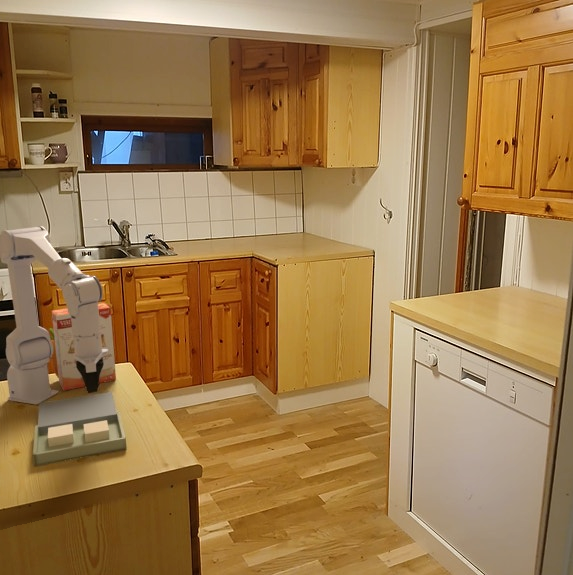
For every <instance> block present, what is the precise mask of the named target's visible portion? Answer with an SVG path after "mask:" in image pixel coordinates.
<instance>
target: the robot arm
mask: <svg viewBox="0 0 573 575" xmlns="http://www.w3.org/2000/svg"><path fill="white" fill-rule="evenodd" d="M50 238H51V237H50V233H49V232H48V230H47V229H46V228H45V227H44V226H42V225H38V226H33V227H23V228H16V229H8V230H7V229H3V230H2V231H0V261H1V263H3V264H6V265H7V270H8V278H9V284H10V285H9V286H10V291H11V298H12V305H13V312H14V319H15V320H14V321H15V326H16V327H15V328H14V329H13V331H12V332H10V333H9V334H8V335H7V336H6V338H5V339H6V340H5V341H6V342H5V343H6V345H5V347H6V348H5V356H6V360H7V362H8V363H9V365H10V366H9V367H8V369H7V373H6V379H7V385H8V387H7V388H8V393H9V397H7V399H6V400H7V401H12V402H17V403H24V404H31V405H39V403H42V402H45V401H46V400H47V399H50V398H52V396H55V395H56V394H58V393H59V390H55V389H52V388H51V385H50V375H49V369H48V368H49V367H48V363H51V362H50V358H51V357H52V354H53V344H52V341H53V340H52V339H51V338H50V336H51V335H50V331H49V330H47V329H46V328H44V327H42V326H39V321H38V320H39V319H38V312H37V304H36V299H35V291H34V290H35V289H34V284H33V276H32V269H31V266H32V263H33V262H34V261H35V259H36V260H38V262H40V263H41V264H43V266H44V267H46V269H48V271H47V273H48V274H47V275H48V277H49V278H50V280H52V282H53V283H54V284H55V285H56V286H57V287H58V288H59V289H60V290H61V291H62V297H63V299H64V303H65V305H66V308H67V310H68V313H69V314H70V315H71V322H72V331H73V341H74V350H75V353H74V358H75V359H76V360H77V361H76V367H77V369H78V371H79V372H80V374H81V375H82V377H83V380H84V383H85V386H84V387H85V389H86V390H85V391H87V394H92V393H93V394H94V393H98V391H99V385H100V383H99V377H100V373H101V370H102V368H103V365H104V363H103V358H102V356H103V355H105V354H108V349H102V341H101V331H100V320H99V309H98V304H99V303H101V301H102V299H103V295H104V294H103V287H102V284H101V282H100V280H99V279H98V277H97V276H95V275H89V274H85V273H83V271H81V269H80V268H79V267H78V266H77V265H76V264H75V263H74V262H73V261H72V260H70V259H69V258H66V257H63V258H62V257H61V256H60V255H59V253H58V252H57V251H56V249H55V248H54V247H53V246H52V244H51V239H50Z"/></svg>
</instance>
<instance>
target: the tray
mask: <svg viewBox="0 0 573 575" xmlns="http://www.w3.org/2000/svg"><path fill="white" fill-rule="evenodd" d="M107 423H108V428H109V436H110V438H109V439H104V440H98V441H93V442H87V443H86V442H85V434H84V426H82V427H76V428H73V436H74V442H73V443H68V444H62V445H56V446H51V447H49V443H48V432H47V433H41V434H39V429H38V424H36V425H34V436H33V448H32V449H33V450H32V459H33V467H38V466H45V465H49V464H54V463H55V464H56V463H59V462H60V463H61V462H65V460H66V461H70V459H71V460H76V459H80V457H82V458H85V457H86V456H87V457H93V456H97V455H103V454H107V453H108V454H109V453H112V452H113V453H114V452H118V451H123V450H124V451H125V450H127V448H128V447H127V437H126V433H125V429H124V425H123V422H122V417H121V413H120V411H117V421H111V422H107ZM102 453H103V454H102Z"/></svg>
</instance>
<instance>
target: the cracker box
mask: <svg viewBox="0 0 573 575" xmlns="http://www.w3.org/2000/svg"><path fill="white" fill-rule="evenodd" d="M98 309H99V320H100V331H101V341H102V349H108V354H105V355H103V356H102V358H103V363H104V365H103V368H102V370H101V373H100V377H99V384H101V383H107V382H111V381H116V380H117V377H116V375H117V373H116V361H115V350H114V347H115V346H114V335H113V325H112V324H113V323H112V322H113V321H112V312H111V311H112V310H111V306H109V305H108V304H107V303H105V302H102V303H101V302H100V303H98ZM51 315H52V316H51V318H52V326H53V328H52V329H53V330H54V337H55V347H56V357H57V366H58V376H59V378H58V383H59V385H60V387H61V388H62V391H63V392H65V391H69V390H73V389H78V388H84V387H85V383H84V380H83V377H82V375H81V374H80V372H79V371H78V369H77V367H76V361H77V360H76V359H75V358H74V353H75V350H74V341H73V331H72V322H71V315H70V314H69V313H68V310H67V307H66V308H61V309H54V310H51Z"/></svg>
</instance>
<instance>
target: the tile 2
mask: <svg viewBox="0 0 573 575" xmlns="http://www.w3.org/2000/svg"><path fill="white" fill-rule="evenodd" d="M83 425H84V434H85V442H86V443H87V442H93V441H98V440H104V439H109V438H110V436H109V428H108V423H107V420H105V421H99V422H94V423H88V424H83Z"/></svg>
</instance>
